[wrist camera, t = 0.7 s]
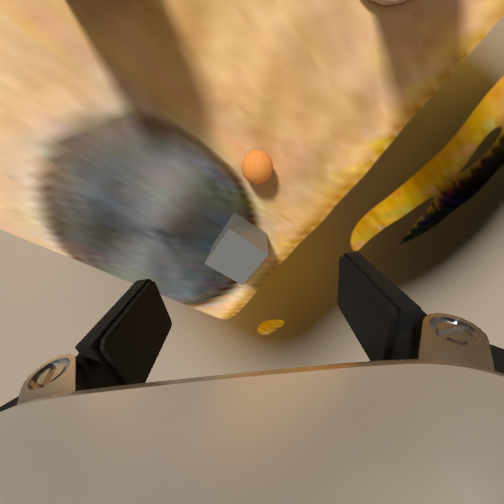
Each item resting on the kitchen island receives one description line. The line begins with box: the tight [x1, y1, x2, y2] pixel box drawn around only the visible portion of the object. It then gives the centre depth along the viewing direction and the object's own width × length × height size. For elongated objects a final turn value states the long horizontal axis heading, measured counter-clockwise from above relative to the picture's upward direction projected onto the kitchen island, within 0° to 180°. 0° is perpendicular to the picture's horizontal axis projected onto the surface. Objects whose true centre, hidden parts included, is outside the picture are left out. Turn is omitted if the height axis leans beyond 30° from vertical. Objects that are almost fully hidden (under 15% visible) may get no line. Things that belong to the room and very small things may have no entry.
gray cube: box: [205, 212, 269, 285], centre depth 37 cm, size 8×8×9 cm
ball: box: [242, 150, 273, 184], centre depth 32 cm, size 5×5×5 cm
